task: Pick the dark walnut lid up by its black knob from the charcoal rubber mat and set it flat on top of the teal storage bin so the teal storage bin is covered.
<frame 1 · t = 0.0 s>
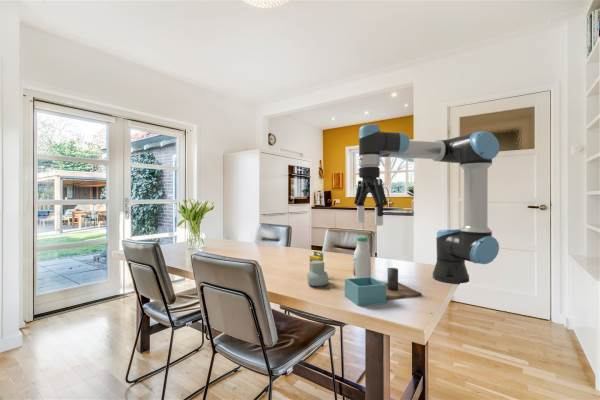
hand: (369, 223, 113), 28 cm above the table, tool pointing down, fingers open, 13 cm apart
crayon box: (316, 277, 144), on the table
teal storage bin: (364, 300, 111), on the table
lid: (392, 291, 119), resting on mat
milk bottle: (362, 282, 136), on the table
air freshener: (317, 285, 131), on the table
mat: (392, 292, 119), on the table
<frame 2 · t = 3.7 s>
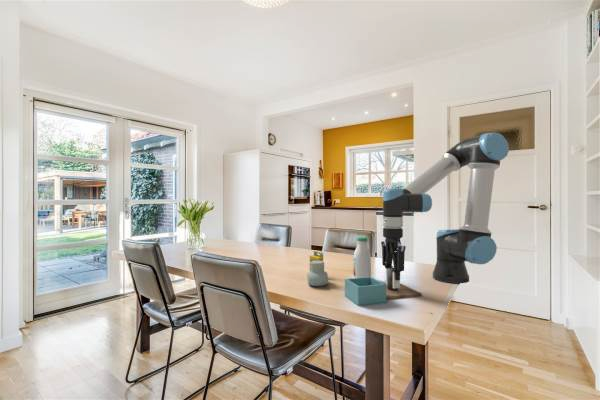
hand: (392, 286, 119), 3 cm above the table, tool pointing down, fingers closed on lid, 4 cm apart
lid: (392, 291, 119), resting on mat, touching gripper
everything else where it was.
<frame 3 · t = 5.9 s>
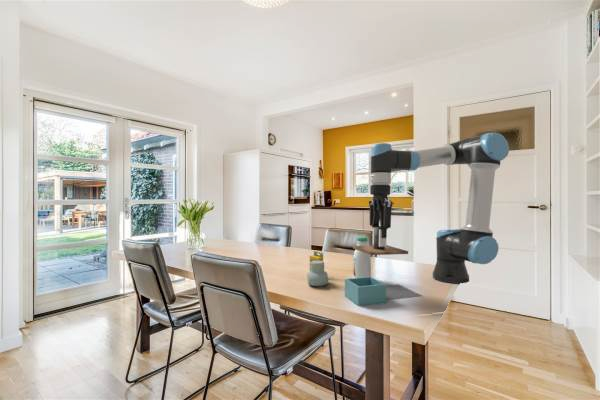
hand: (379, 245, 115), 20 cm above the table, tool pointing down, fingers closed on lid, 4 cm apart
lid: (379, 251, 115), point 17 cm above the table, touching gripper
everything else where it was.
when the fingers open (11 cm above the table, at t = 8.5 s): lid drops 1 cm, resting on teal storage bin.
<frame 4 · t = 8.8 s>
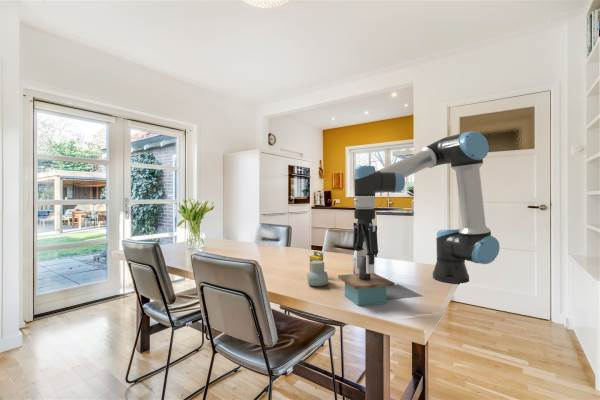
hand: (364, 270, 110), 11 cm above the table, tool pointing down, fingers open, 7 cm apart
teal storage bin: (364, 300, 111), on the table, touching lid
lid: (364, 281, 111), point 7 cm above the table, touching teal storage bin
everything else where it was.
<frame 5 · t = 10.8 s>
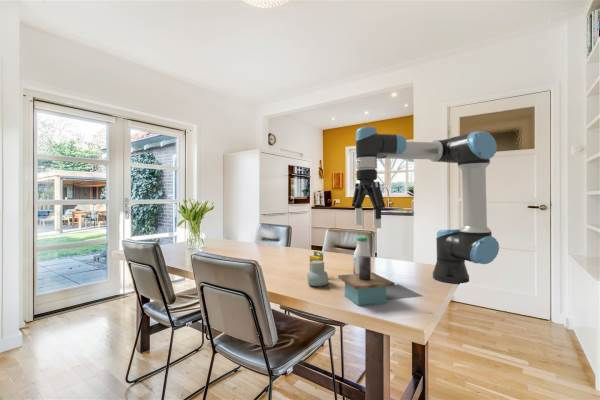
hand: (367, 226, 112), 27 cm above the table, tool pointing down, fingers open, 13 cm apart
nothing on the table moved.
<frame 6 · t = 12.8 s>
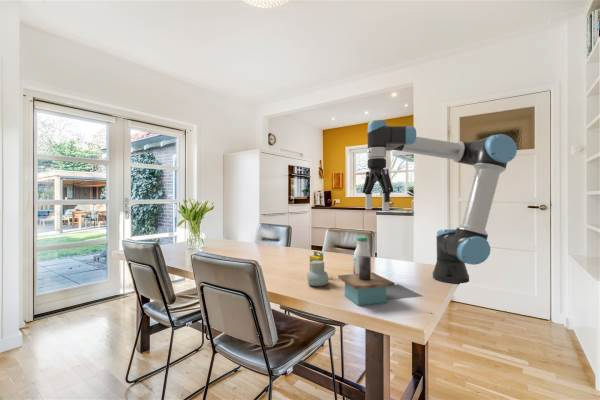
hand: (376, 209, 125), 33 cm above the table, tool pointing down, fingers open, 13 cm apart
nothing on the table moved.
at the end: lid 0.1 cm off-centre on the teal storage bin, point 7.0 cm above the teal storage bin's base; lid tilted 0°; the gripper is holding nothing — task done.
